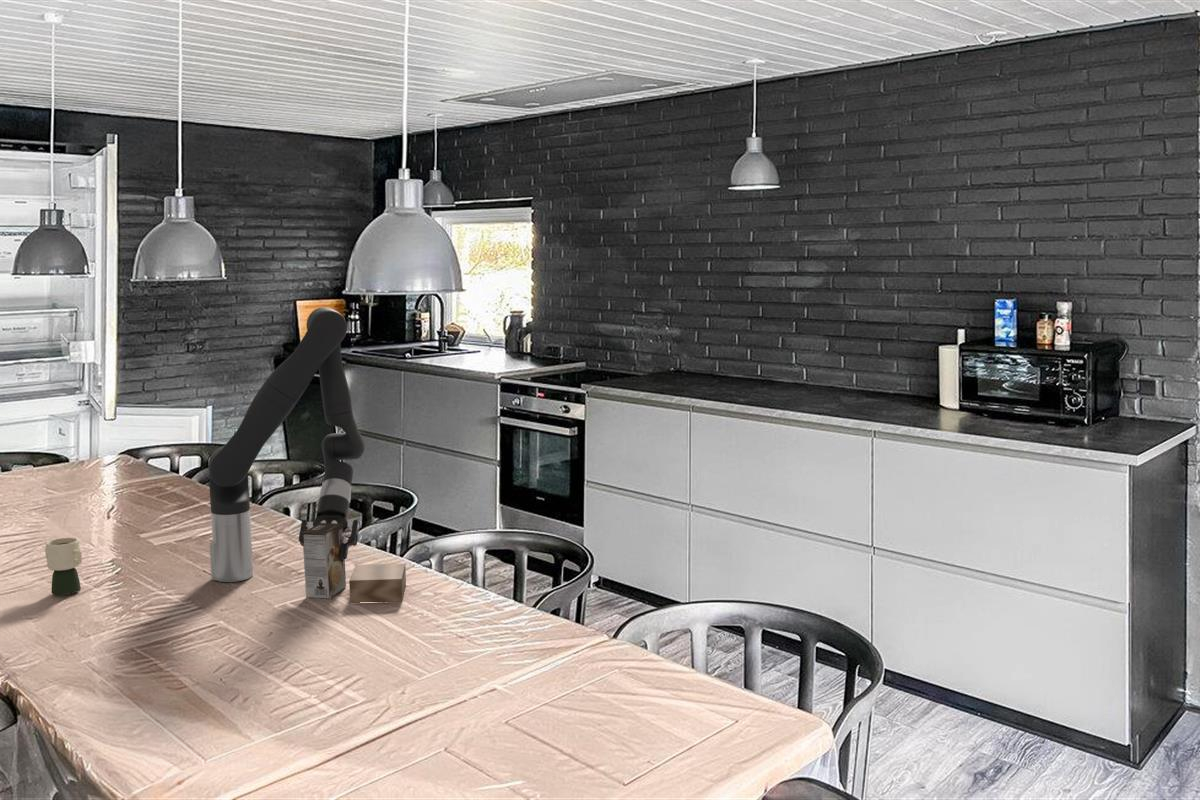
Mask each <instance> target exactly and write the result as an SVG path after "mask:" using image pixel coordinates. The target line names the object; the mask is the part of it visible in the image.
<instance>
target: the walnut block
mask: <svg viewBox="0 0 1200 800" xmlns="http://www.w3.org/2000/svg"><path fill="white" fill-rule="evenodd" d="M406 570H407V569H406V563H380V564H378V563H377V564H355V565H354V567H353V570H352V573H351V575H350V577H349V583H348V585H349V604H350V603H360V602H400V603H403V600H404V596H405V593H404V592H405V591H406V587H407V578H406V577H407V576H406V574H407V572H406Z"/></svg>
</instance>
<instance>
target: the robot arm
mask: <svg viewBox="0 0 1200 800" xmlns="http://www.w3.org/2000/svg"><path fill="white" fill-rule="evenodd" d="M347 324H348V323H347V321H346V318H345V316H343V315H342V314H341V313H340V312H339V311H338V310H335V309H333V308H330V307H327V306H325V307H322V306H321V307H318V308H315V309H314V310H312V312H310V314H309V316H308V317H307V319H306V332H305V334H304V336H303V337H302V339H301V341H300V342H299V344H298V345H297V347H296V348H295V350H294V351H293V352H292V353H291V354H290V355H289V356H288V357H287V358H286V359H285V360H284V361H283V362H282V363H281V364H279V365H278V366H277V367H276V368H275V369H274V370H273V371H272V372H271V373H270V374H269V375H268V377H267V378H266V379H265V381H264V382H263V384H262V386H261V387H260V388H259V389H258V391H257V393H256V394H255V396H254V398H253V399H252V401H251V402H250V404H249V407H248V408H247V410H246V412H245V414H244V417H243V419H242V421H241V423H240V424H239V427H238V428H237V430H236V431H235V432H234V434H233V435H232V436H231V437H230V439H229V440H228V441H227V443H225V444H224V445H222V446H219V447H217V448H215V450H214V451H212V453H211V455H210V456H209V459H208V478H209V479H208V480H209V481H208V482H209V501H210V502H209V505H210V518H211V520H210V521H211V537H212V538H211V539H212V540H211V542H210V543H209V557H210V573H211V574H210V575H211V581H217V582H220V583H221V582H222V583H235V582H236V583H237V582H241V581H245V580H248V579H251V578H252V577H253V576H254V565H253V548H252V547H253V544H252V524H251V523H252V522H251V505H250V504H251V501H250V486H249V484H250V483H249V471H250V469H251V467H252V466H253V464H254V462H255V460H256V458H257V457H258V455H259V453H260V452H261V450H262V449H263V447H264V446H265V444H266V443H267V441H268V440H269V439H270V438H271V437H272V435H273V434H274V433H275V432H276V430H278V429H279V427H280V426H281V425H282V424H283V422H284V421H285V420H286V419H287V417H288V416H289V414H290V413H291V412H292V410H293V409H294V407H295V406H296V405H297V404H298V401H300V398H301V397H302V396H303V395H304V392H305V391H306V389H307V388H308V386H309V385H310V383H311V382H312V380H313V379H314V377H315V375H316V373H317V372H318V373H319V374H318V375H319V383H320V392H321V393H320V394H321V399H322V406H323V408H322V409H323V414H324V419H325V422H326V424H327V425H328V426H332V427H338V428H341V429H342V430H343V432H337V433H328V434H327V435H325V436H324V438H323V440H322V441H321V450H322V455H323V461H324V473H323V481H322V485H321V487H320V488H321V489H320V491H319V496H318V497H319V498H318V502H317V503H318V504H317V507H316V508H317V510H316V514H315V519H314V520H313V521H307V519H302V521H301V524H300V530H299V535H298V541H299V544H300V546H301V547H303V534H302V533H303V532H304V531H306V530H308V529H310V528H312V527H313V526H315V525H317V524H319V523H335V524H343V533H342V539H341V540H342V542H343V544H341V550H340V556H339V558H340V561H344V559H345V560H346V559H348V552H349V548H350V547H352V546H353V547H356V546H357V545H358V539H359V533H360V523H359V521H358V519H354V520H353V521H348V516H349V510H350V505H351V504H350V503H351V500H352V498H351V497H352V496H351V495H352V491H351V490H352V489H351V488H352V483H353V482H352V481H353V475H354V470H353V469H354V468H353V467H352V465H350V464H349V463H347V462H346V461H347V460H348V461H349V460H351V461H352V460H357V459H361V457H362V456H363V455H364V451H365V442H364V440H363V439H364V438H363V437H362V434H361V432H360V430H359V427H358V425H357V423H356V420H355V417H354V414H353V407H352V399H351V393H350V388H349V384H348V381H347V380H348V379H347V377H346V372H345V369H344V364H343V360H342V359H343V357H342V351H341V349H342V348H341V346H342V345H341V342H343V340H344V339H345V337H346V335H347V331H348V325H347ZM348 528H349V530H350V538H347V536H345V533H344V532H345V531H346V530H347V529H348Z"/></svg>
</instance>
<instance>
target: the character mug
mask: <svg viewBox="0 0 1200 800" xmlns="http://www.w3.org/2000/svg"><path fill="white" fill-rule="evenodd" d="M44 551H45V558H46V565H47V568H48V570H50V571H53V573H52V575H51V578H52V579H51V594H52V595H54V596H64V595H68V594H70V593H72V594H73V593H76V592H80V591H81V590H82V587H81V581H80V578H79V574H78V573H79V572H78V570H77V567H78V566H79V565H81V564H82V562H83V557H82V551H81V545H80V539H79V538H78V537H75V536H73V537H72V536H71V537H69V536H67V537H59V538H58V537H57V538H54V539H51V540H48V541H46V543H45V548H44Z"/></svg>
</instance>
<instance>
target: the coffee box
mask: <svg viewBox="0 0 1200 800" xmlns="http://www.w3.org/2000/svg"><path fill="white" fill-rule="evenodd" d="M342 533H344V532H343V524H335V523H319V524H317V525H315V526H313V527H312V528H310V529H308V530H306V531H304V532H303V533H302V534H303V546H302V547H303V548H302V549H303V564H304V565H303V566H304V582H305V583H304V585H305V586H304V588H305V598H312V599H313V598H314V599H328V598H329V599H331V598H332V597H334V596H335V595H336V594H338V593H339V592H340V591H342V590H343V589H346V587H347V582H346V581H347V578H346V575H347V574H346V559H344V561H340V558H339V556H340V550H341V544H343V542H342V540H341V539H342Z"/></svg>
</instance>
